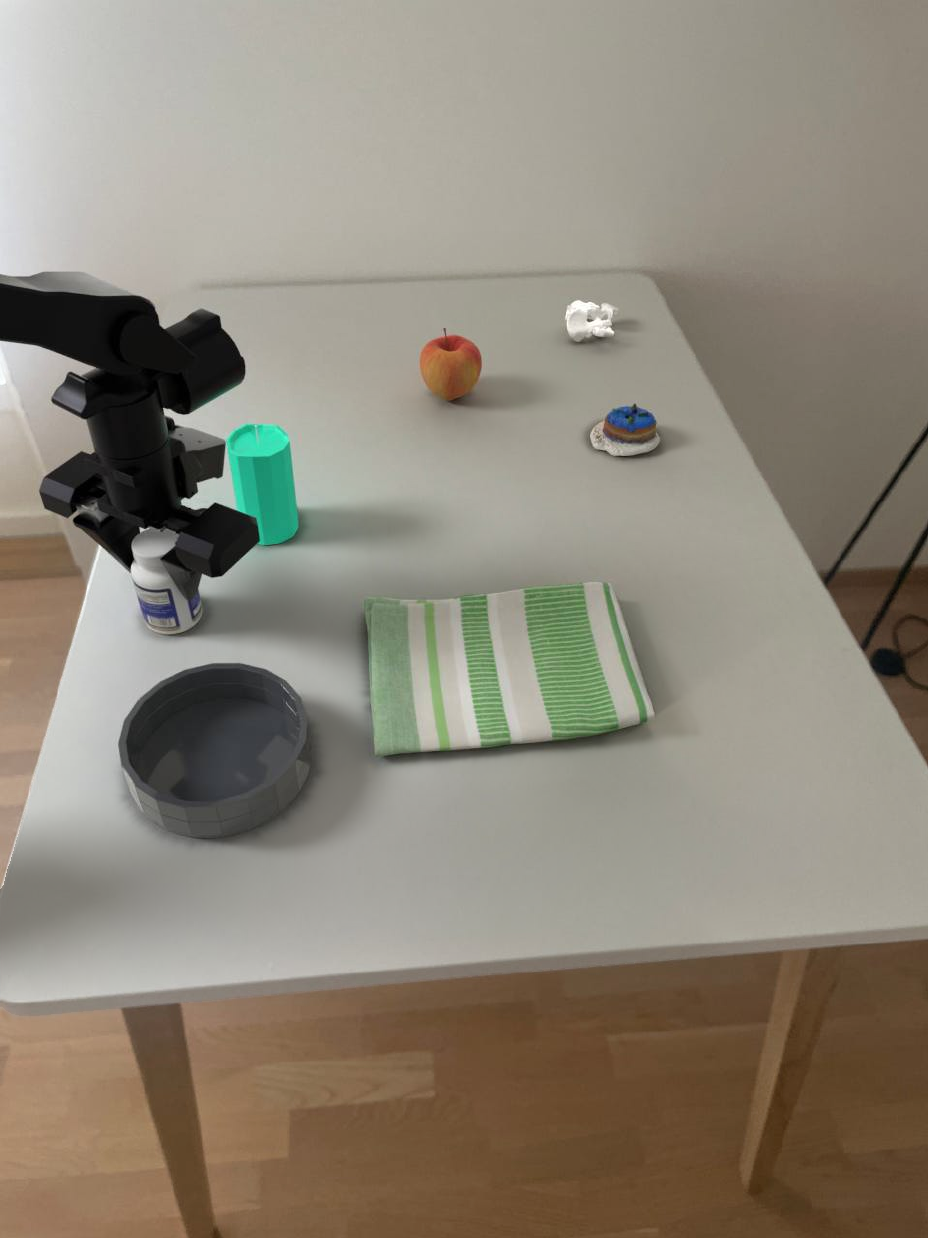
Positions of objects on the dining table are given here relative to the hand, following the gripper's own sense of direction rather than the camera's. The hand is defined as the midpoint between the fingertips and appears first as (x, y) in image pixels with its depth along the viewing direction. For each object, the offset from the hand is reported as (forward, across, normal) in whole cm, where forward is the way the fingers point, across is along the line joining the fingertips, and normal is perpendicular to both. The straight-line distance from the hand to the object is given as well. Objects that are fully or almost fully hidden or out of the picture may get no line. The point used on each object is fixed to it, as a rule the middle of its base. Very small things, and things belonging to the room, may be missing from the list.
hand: (166, 586), depth 87 cm
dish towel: (+4, -29, -9) cm, 31 cm away
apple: (+4, -4, -46) cm, 47 cm away
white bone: (+4, -13, -70) cm, 71 cm away
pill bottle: (+4, 0, 0) cm, 4 cm away
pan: (+4, -14, +11) cm, 18 cm away
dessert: (+4, -26, -48) cm, 55 cm away
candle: (+4, 0, -15) cm, 15 cm away
